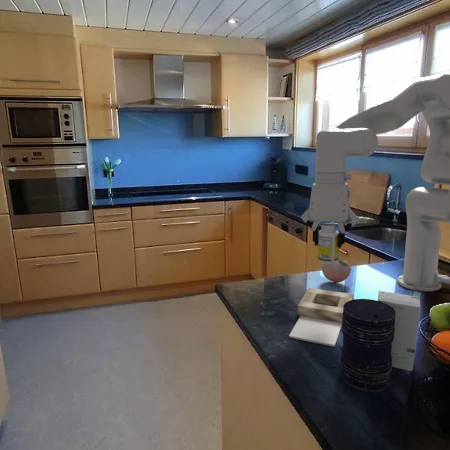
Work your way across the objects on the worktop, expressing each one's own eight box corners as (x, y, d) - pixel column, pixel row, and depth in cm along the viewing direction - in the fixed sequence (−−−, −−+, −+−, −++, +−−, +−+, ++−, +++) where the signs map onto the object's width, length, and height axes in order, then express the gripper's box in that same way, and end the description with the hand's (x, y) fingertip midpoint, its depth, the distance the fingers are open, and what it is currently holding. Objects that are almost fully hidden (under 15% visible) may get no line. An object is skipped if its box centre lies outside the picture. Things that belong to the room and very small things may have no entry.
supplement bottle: (333, 256, 105) (335, 221, 102) (341, 263, 99) (343, 226, 97) (314, 258, 104) (315, 222, 102) (321, 264, 99) (322, 227, 97)
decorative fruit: (315, 283, 124) (316, 254, 122) (329, 276, 130) (330, 249, 127) (340, 291, 117) (342, 261, 115) (354, 283, 123) (355, 255, 120)
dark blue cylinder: (332, 363, 81) (335, 300, 78) (376, 360, 82) (381, 297, 78) (351, 393, 71) (354, 323, 68) (400, 390, 72) (406, 319, 68)
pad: (342, 325, 97) (342, 323, 97) (334, 346, 87) (334, 344, 87) (300, 317, 101) (300, 316, 101) (289, 337, 92) (289, 335, 92)
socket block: (353, 303, 108) (353, 294, 108) (346, 324, 97) (347, 313, 96) (308, 296, 114) (309, 287, 113) (297, 315, 103) (297, 305, 102)
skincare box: (371, 363, 80) (375, 300, 77) (373, 349, 86) (377, 289, 82) (414, 372, 77) (421, 306, 73) (413, 356, 82) (419, 294, 79)
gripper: (366, 177, 96) (363, 244, 100) (301, 176, 104) (300, 239, 108) (363, 181, 90) (360, 252, 94) (294, 180, 97) (293, 246, 101)
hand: (328, 244), depth 101 cm, fingers closed on supplement bottle, 5 cm apart
